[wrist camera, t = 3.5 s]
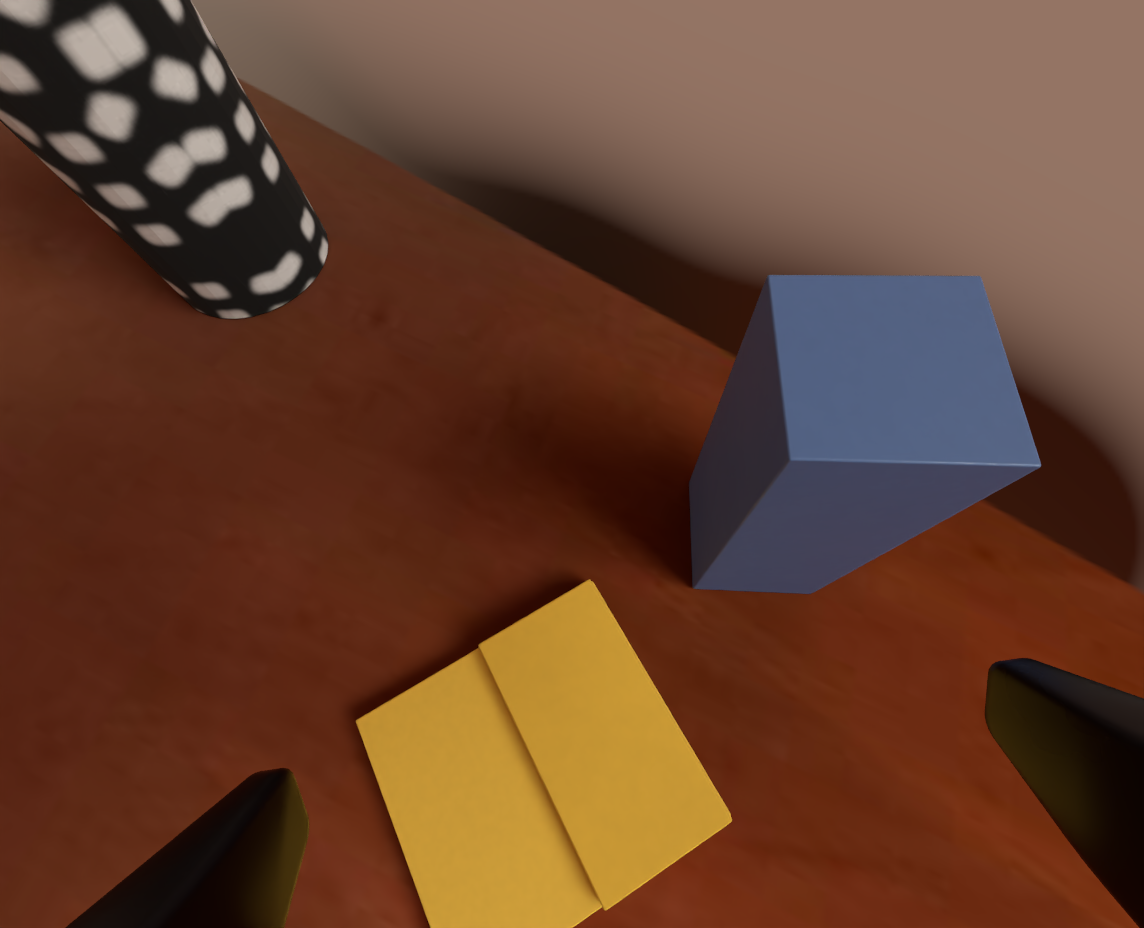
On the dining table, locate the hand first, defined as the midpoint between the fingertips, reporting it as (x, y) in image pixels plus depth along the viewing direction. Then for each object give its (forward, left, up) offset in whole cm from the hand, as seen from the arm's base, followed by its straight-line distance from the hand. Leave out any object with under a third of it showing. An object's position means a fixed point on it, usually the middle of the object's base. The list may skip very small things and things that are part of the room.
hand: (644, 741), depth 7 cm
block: (+3, -8, -14) cm, 17 cm away
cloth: (0, +3, -14) cm, 15 cm away
